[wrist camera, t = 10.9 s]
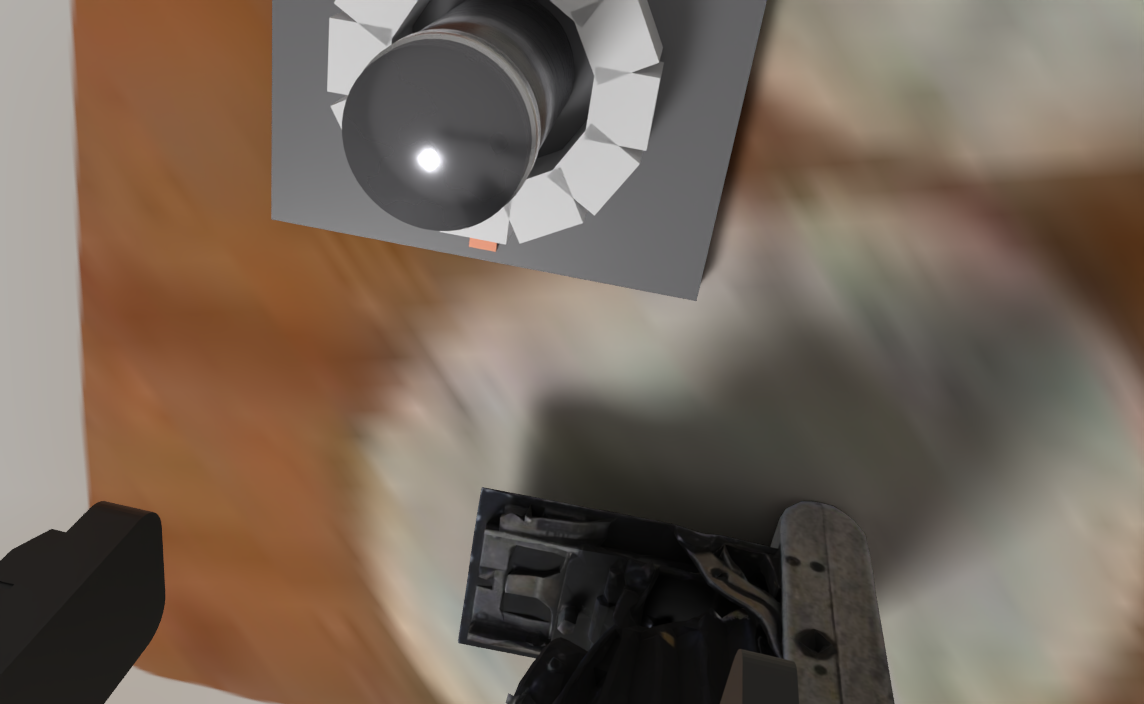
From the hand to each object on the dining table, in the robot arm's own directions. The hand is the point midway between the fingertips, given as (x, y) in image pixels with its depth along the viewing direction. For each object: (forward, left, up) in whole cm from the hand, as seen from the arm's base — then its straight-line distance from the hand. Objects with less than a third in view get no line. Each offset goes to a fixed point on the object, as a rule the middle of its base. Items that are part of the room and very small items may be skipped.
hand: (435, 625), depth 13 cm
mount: (+4, -2, -24) cm, 25 cm away
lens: (+4, -2, -23) cm, 24 cm away
